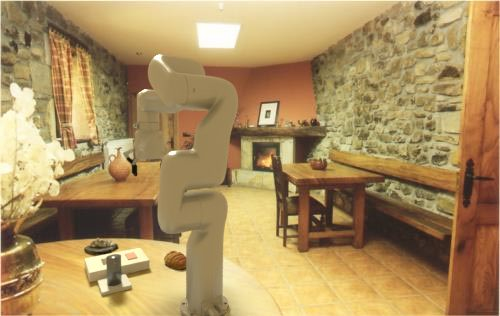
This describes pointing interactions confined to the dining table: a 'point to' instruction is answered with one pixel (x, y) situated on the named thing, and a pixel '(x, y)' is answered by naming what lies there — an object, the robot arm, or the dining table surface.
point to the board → (129, 264)
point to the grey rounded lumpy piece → (101, 247)
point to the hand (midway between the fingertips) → (149, 174)
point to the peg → (113, 269)
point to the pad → (112, 289)
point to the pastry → (175, 260)
